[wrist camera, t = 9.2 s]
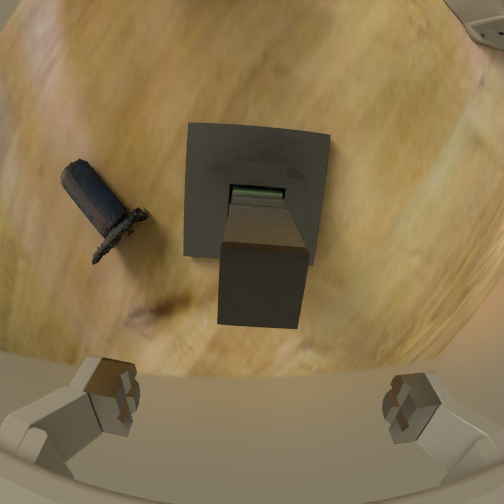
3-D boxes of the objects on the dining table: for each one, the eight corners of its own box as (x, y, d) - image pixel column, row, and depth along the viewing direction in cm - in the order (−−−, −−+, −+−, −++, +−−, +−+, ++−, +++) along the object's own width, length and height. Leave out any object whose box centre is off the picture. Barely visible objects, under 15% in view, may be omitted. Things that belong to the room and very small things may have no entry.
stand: (326, 134, 36) (351, 135, 27) (310, 259, 42) (326, 296, 32) (191, 123, 35) (172, 120, 26) (186, 250, 41) (169, 285, 32)
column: (279, 188, 30) (313, 252, 14) (275, 231, 32) (299, 331, 16) (234, 184, 30) (217, 245, 14) (231, 227, 32) (214, 326, 16)
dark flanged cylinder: (155, 211, 41) (97, 149, 38) (142, 217, 33) (75, 142, 31) (110, 258, 41) (56, 197, 38) (91, 273, 34) (29, 200, 31)
